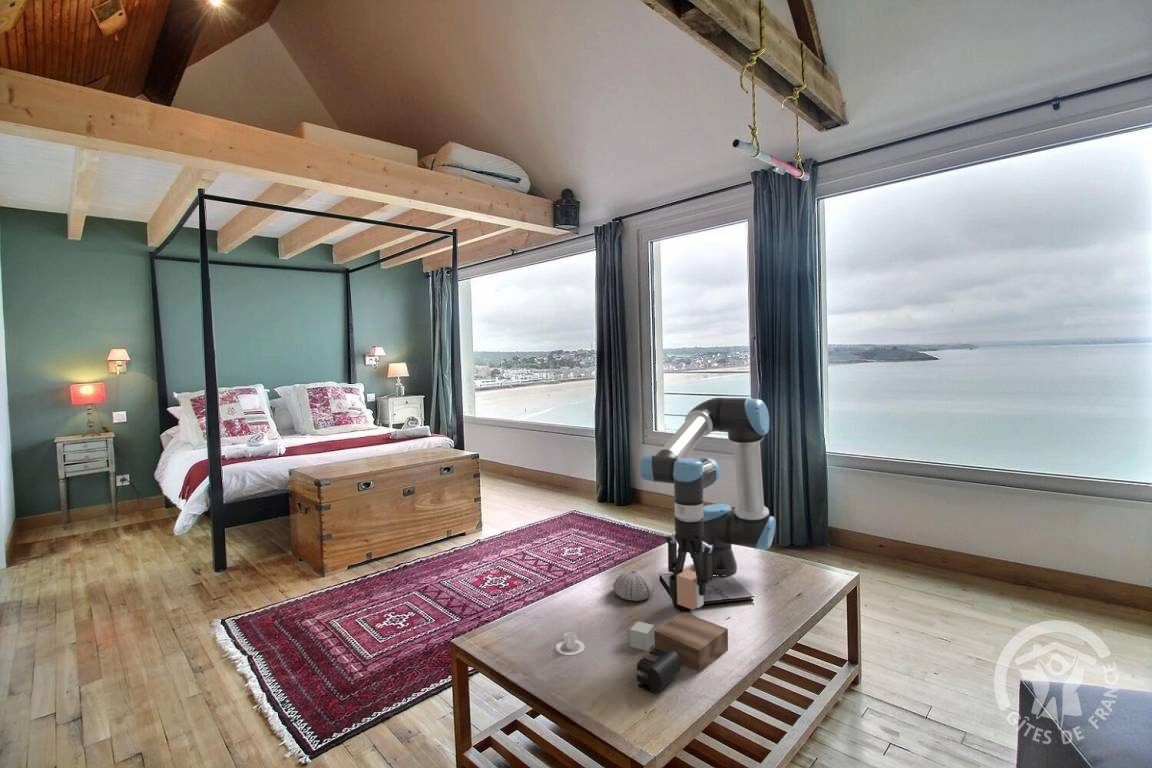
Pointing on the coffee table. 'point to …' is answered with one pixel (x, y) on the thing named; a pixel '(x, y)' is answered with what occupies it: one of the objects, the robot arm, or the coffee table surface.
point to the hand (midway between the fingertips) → (690, 602)
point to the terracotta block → (686, 589)
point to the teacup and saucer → (570, 644)
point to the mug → (675, 594)
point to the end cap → (658, 670)
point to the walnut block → (692, 640)
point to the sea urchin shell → (633, 585)
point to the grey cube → (642, 635)
